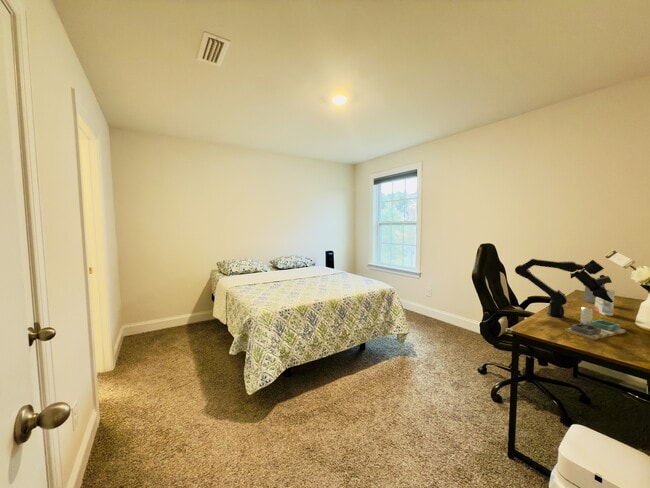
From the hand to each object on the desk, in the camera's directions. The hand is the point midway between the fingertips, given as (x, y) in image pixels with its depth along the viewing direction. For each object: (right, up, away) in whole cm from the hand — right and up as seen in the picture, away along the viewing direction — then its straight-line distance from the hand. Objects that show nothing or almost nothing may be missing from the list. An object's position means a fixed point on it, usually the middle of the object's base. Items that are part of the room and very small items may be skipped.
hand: (611, 301), depth 158 cm
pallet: (-18, -14, -9) cm, 25 cm away
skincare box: (+30, -10, +43) cm, 53 cm away
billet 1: (-25, -13, -11) cm, 31 cm away
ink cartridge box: (+15, -12, +20) cm, 27 cm away
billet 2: (-1, -7, +1) cm, 7 cm away
